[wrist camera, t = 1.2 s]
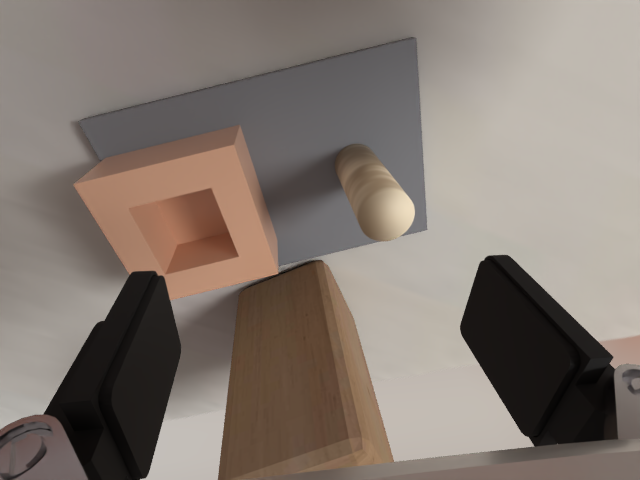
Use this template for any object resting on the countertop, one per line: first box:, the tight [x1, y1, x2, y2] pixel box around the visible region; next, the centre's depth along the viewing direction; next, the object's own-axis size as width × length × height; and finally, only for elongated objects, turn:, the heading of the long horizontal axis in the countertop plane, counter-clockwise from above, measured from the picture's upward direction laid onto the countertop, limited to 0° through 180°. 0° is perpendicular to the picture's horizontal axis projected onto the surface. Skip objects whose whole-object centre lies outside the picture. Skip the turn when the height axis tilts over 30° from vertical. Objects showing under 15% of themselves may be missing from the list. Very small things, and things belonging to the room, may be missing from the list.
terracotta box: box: [73, 125, 278, 300], centre depth 29 cm, size 11×11×6 cm
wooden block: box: [218, 260, 394, 480], centre depth 31 cm, size 10×10×20 cm
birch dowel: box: [335, 144, 415, 241], centre depth 27 cm, size 4×4×10 cm
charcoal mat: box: [78, 37, 427, 266], centre depth 32 cm, size 26×17×1 cm, turn 102°
